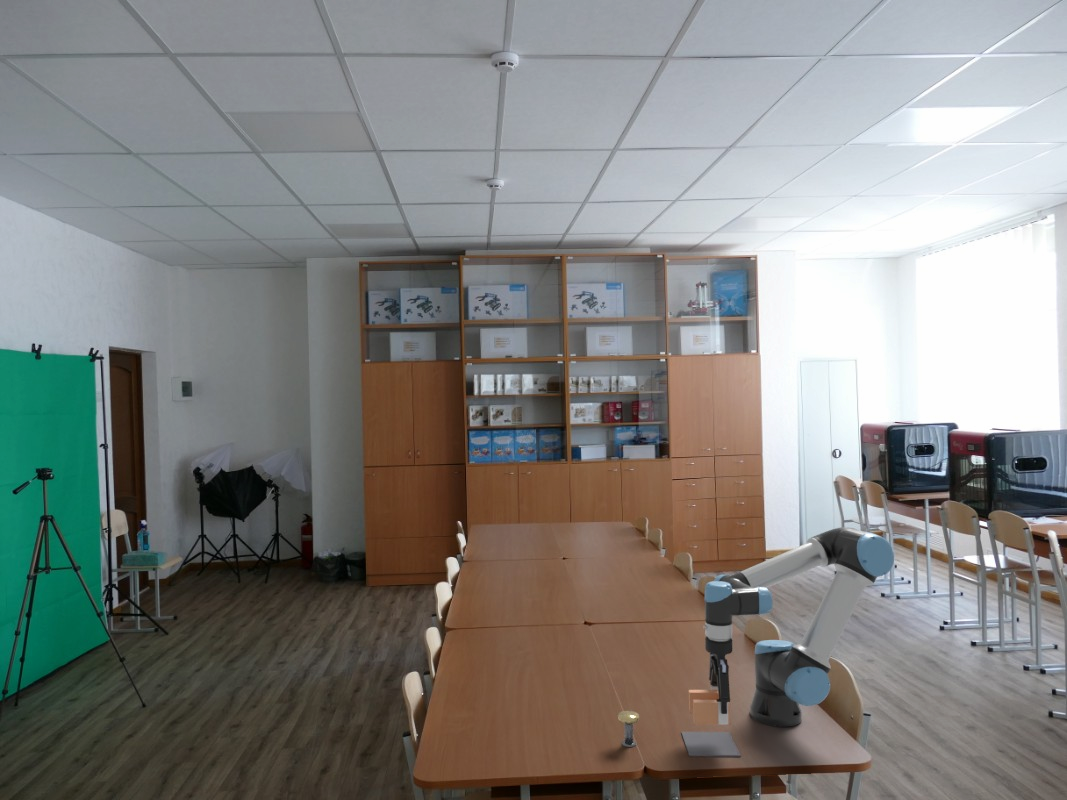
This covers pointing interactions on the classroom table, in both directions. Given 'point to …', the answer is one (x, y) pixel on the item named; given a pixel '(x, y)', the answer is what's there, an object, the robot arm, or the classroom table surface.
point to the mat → (710, 744)
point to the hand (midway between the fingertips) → (719, 716)
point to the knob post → (628, 726)
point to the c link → (705, 706)
